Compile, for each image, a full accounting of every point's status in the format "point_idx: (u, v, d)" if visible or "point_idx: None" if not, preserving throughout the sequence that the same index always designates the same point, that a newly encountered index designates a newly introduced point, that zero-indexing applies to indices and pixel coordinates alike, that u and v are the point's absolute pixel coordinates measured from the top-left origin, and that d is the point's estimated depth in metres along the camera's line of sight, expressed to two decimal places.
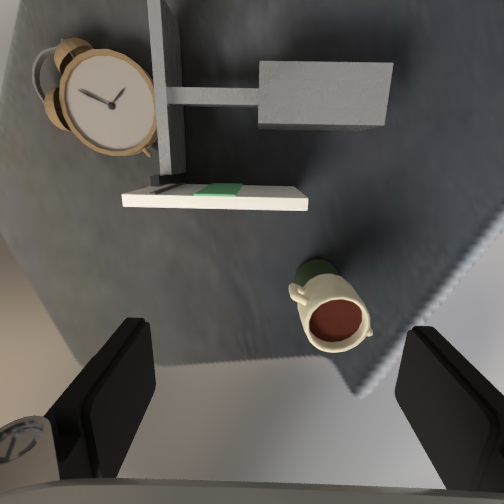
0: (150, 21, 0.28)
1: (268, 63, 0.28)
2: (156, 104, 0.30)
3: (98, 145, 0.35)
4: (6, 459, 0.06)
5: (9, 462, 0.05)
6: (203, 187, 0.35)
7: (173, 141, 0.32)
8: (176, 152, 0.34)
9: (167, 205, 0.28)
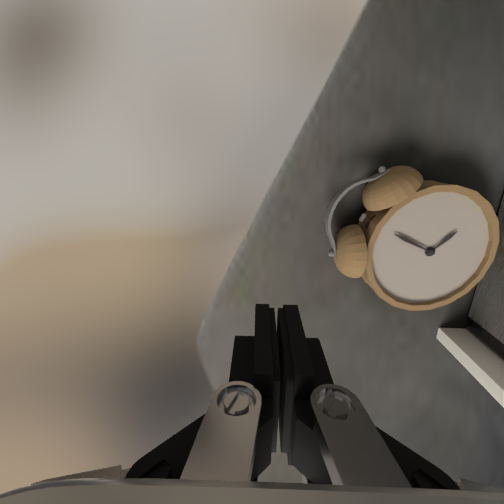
0: None
1: None
2: None
3: (393, 296, 0.26)
4: (227, 410, 0.07)
5: (228, 415, 0.07)
6: None
7: None
8: None
9: None
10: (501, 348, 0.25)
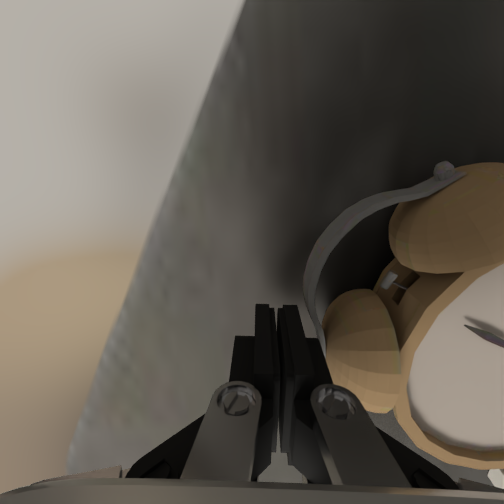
0: None
1: None
2: None
3: (446, 441, 0.12)
4: (227, 410, 0.07)
5: (228, 415, 0.07)
6: None
7: None
8: None
9: None
10: None
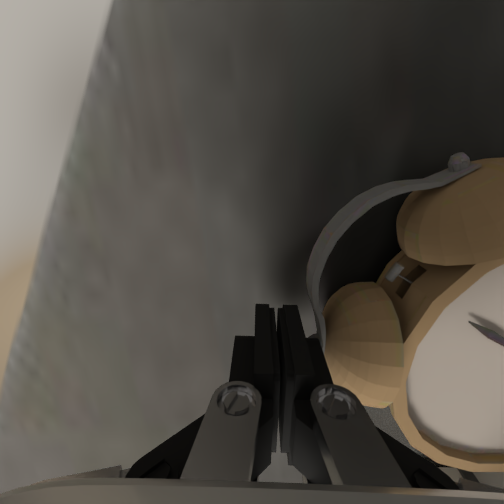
0: None
1: None
2: None
3: (440, 441, 0.12)
4: (227, 410, 0.07)
5: (228, 415, 0.07)
6: None
7: None
8: None
9: None
10: None
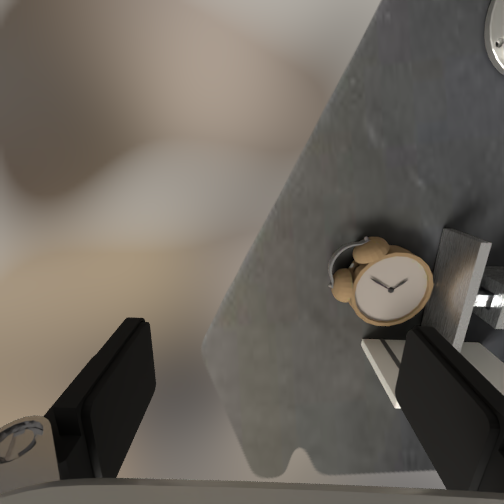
0: (477, 262, 0.33)
1: None
2: (461, 316, 0.35)
3: (366, 316, 0.41)
4: (6, 459, 0.06)
5: (9, 462, 0.05)
6: None
7: None
8: None
9: None
10: None
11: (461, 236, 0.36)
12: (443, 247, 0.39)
